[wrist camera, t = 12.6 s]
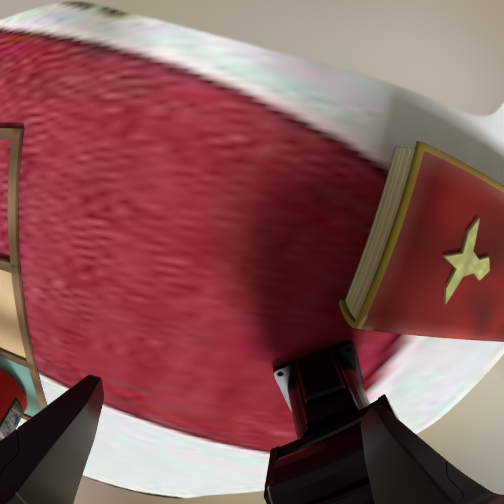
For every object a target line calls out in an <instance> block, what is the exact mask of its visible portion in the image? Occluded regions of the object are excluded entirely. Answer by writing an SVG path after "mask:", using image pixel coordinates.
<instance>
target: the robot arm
mask: <svg viewBox="0 0 504 504" xmlns="http://www.w3.org/2000/svg"><path fill="white" fill-rule="evenodd" d="M348 347H350V348H348ZM346 348H348V349H346ZM278 372H281V373H278ZM273 373H274V377H275V379H276V381H277V383H278V385H279V387H280V389H281V391H282V393H283V396H284V398H285V400H286V402H287V404H288V406H289V408H290V410H291V412H292V415H293V420H294V425H295V430H296V435H297V440H295V441H293V442H291V443H288V444H286V445H283V446H281V447H279V446H277V447H275V448H272V449H271V452H270V459H269V465H268V471H267V477H266V482H265V492H264V498H265V500H266V503H267V504H504V495H500V494H496V493H493V492H491V491H489V490H487V489H486V488H485V487H483V486H482V485H480V484H478V483H477V482H475V481H474V480H472V479H471V478H469V477H468V476H466V475H465V474H464V473H462V472H461V471H459V470H458V469H456V468H455V467H454V466H453V465H452V464H451V463H449V462H448V461H446V459H445V458H443V457H442V456H441V455H440V454H439V453H437V452H436V451H435V450H434V449H433V448H431V447H430V446H429V445H428V444H426V443H425V442H424V441H423V440H422V439H421V438H419V437H418V436H417V435H416V434H415V433H414V432H412V431H411V430H410V429H409V428H408V427H407V426H405V425H404V424H403V423H402V422H401V421H400V420H399V419H398V417H397V415H396V413H395V411H394V410H393V408H392V406H391V404H390V402H389V401H388V399H387V397H386V395H385V394H384V395H382V396H381V397H379V398H378V400H376V401H375V402H373V403H371V404H370V402H369V400H368V398H367V396H366V393H365V391H364V387H363V382H362V377H361V373H360V368H359V363H358V359H357V355H356V350H355V347H354V345H353V343H352V342H350V341H348V342H344V343H342V344H339V345H337V346H334V347H331V348H329V349H326V350H323V351H321V352H318V353H315V354H312V355H310V356H307V357H304V358H301V359H298V360H295V361H292V362H289V363H286V364H283V365H280V366H277V367H275V368H274V370H273ZM103 401H104V391H103V385H102V379H101V378H100V377H97V376H94V375H88V376H86V377H85V378H84V379H82V380H81V381H80V382H78V383H77V384H76V385H74V386H73V387H72V388H70V389H69V390H68V391H66V392H65V393H64V394H62V395H61V396H60V397H58V398H57V399H56V400H54V401H53V402H51V403H50V404H49V405H47V406H46V407H45V408H43V409H42V410H41V411H39V412H38V413H37V414H35V415H34V416H33V417H31V418H30V419H29V420H27V421H26V422H25V423H23V424H22V425H21V426H19V427H18V428H17V429H15V430H14V431H13V432H11V433H10V434H9V435H7V436H6V437H4V438H3V439H1V440H0V504H73V503H74V499H75V496H76V493H77V490H78V486H79V483H80V480H81V477H82V474H83V471H84V468H85V465H86V462H87V459H88V456H89V454H90V451H91V448H92V445H93V442H94V439H95V435H96V430H97V426H98V421H99V417H100V413H101V409H102V405H103Z"/></svg>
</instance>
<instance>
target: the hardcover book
mask: <svg viewBox="0 0 504 504" xmlns="http://www.w3.org/2000/svg"><path fill="white" fill-rule="evenodd" d="M339 307H340V310H341V312H342V314H343V317H344V318H345V320H346V321H347V323H348V324H349V325H350V326H351V327H352V328H356V329H363V330H372V331H380V332H389V333H398V334H408V335H418V336H428V337H440V338H452V339H465V340H481V341H499V342H504V186H502V185H501V184H499V183H498V182H496V181H494V180H493V179H491V178H489V177H488V176H486V175H484V174H482V173H481V172H479V171H477V170H475V169H473V168H472V167H470V166H468V165H466V164H464V163H462V162H461V161H459V160H457V159H455V158H453V157H451V156H449V155H447V154H445V153H443V152H441V151H439V150H437V149H435V148H433V147H431V146H429V145H427V144H425V143H422V142H419V141H417V143H416V147H415V149H409V148H402V147H395V150H394V154H393V158H392V162H391V165H390V169H389V172H388V176H387V179H386V183H385V186H384V190H383V193H382V196H381V200H380V203H379V206H378V209H377V212H376V216H375V219H374V222H373V225H372V228H371V231H370V234H369V237H368V240H367V243H366V245H365V248H364V251H363V254H362V257H361V260H360V262H359V265H358V268H357V271H356V273H355V276H354V279H353V281H352V284H351V286H350V289H349V292H348V294H347V297H346V299H345V300H342V299H340V301H339Z"/></svg>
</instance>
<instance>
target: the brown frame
mask: <svg viewBox="0 0 504 504" xmlns="http://www.w3.org/2000/svg"><path fill="white" fill-rule="evenodd" d="M23 133H24V129H19V128H0V139H1V140H12V141H11V150H10V162H9V178H8V237H9V254H10V260H7V259H4V258H0V347H1V348H0V368H2V369H3V370H5V371H6V372H8V373H9V374H10V375H11V376H12V377H13V378H14V379H15V380H16V381H17V382H18V384H19V385H20V387H21V389H22V391H23V393H24V394H25V396H26V399H27V409H26V410H25V412H24V414H23V416H22V418H23V419H25V420H29V419H30V418H31V417H33V416H34V415H35V414H37V413H38V412H39V411H41V410H42V409H43V408H45V407H46V406H47V402H46V399H45V396H44V392H43V389H42V385H41V381H40V378H39V374H38V370H37V366H36V362H35V357H34V353H33V348H32V344H31V339H30V333H29V328H28V322H27V316H26V310H25V303H24V295H23V287H22V277H21V266H20V252H19V227H18V200H19V176H20V161H21V151H22V141H23ZM7 350H8V351H7ZM14 353H15V354H14ZM19 355H20V356H19ZM24 357H25V358H24Z"/></svg>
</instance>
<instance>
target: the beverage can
mask: <svg viewBox="0 0 504 504" xmlns="http://www.w3.org/2000/svg"><path fill="white" fill-rule="evenodd" d="M26 409H27V399H26V396H25V394H24V393H23V391H22V389H21V387H20V385H19V384H18V382H17V381H16V380H15V379H14V378H13V377H12V376H11V375H10V374H9V373H8V372H6V371H5V370H3V369H2V368H0V440H1V439H3V438H4V437H6V436H7V435H9V434H10V433H11V432H13V431H14V430H15V429H16V427H17V425H18V423H19V421H20V419H21V418H22V416H23V414H24V412H25V410H26Z"/></svg>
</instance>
